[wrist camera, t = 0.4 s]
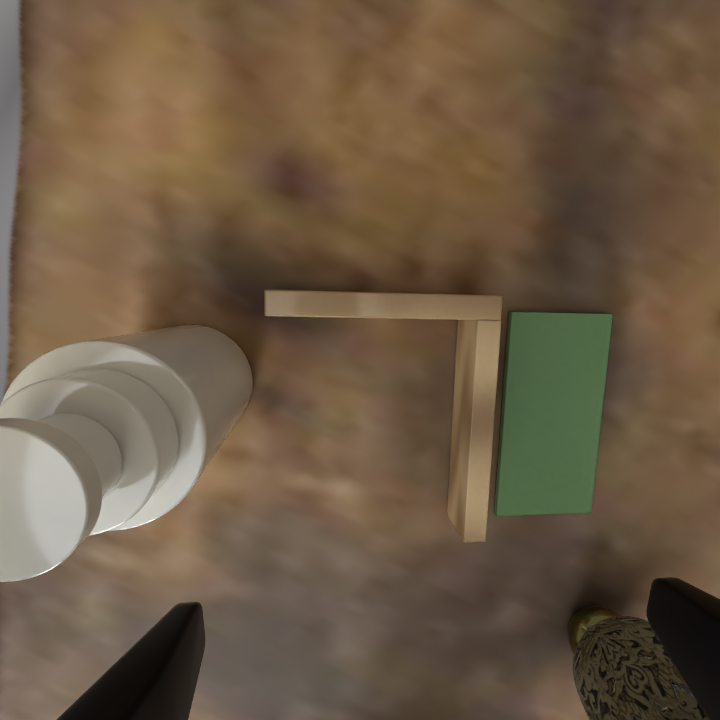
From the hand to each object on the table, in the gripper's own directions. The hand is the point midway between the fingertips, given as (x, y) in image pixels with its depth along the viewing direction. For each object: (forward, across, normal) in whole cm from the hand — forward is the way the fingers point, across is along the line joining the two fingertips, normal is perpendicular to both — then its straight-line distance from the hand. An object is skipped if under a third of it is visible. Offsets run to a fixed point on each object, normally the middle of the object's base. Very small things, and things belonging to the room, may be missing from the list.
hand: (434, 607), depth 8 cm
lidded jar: (+14, +9, -1) cm, 17 cm away
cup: (+14, -14, +16) cm, 26 cm away
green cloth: (+15, -11, +2) cm, 18 cm away
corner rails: (+14, -1, +2) cm, 15 cm away
